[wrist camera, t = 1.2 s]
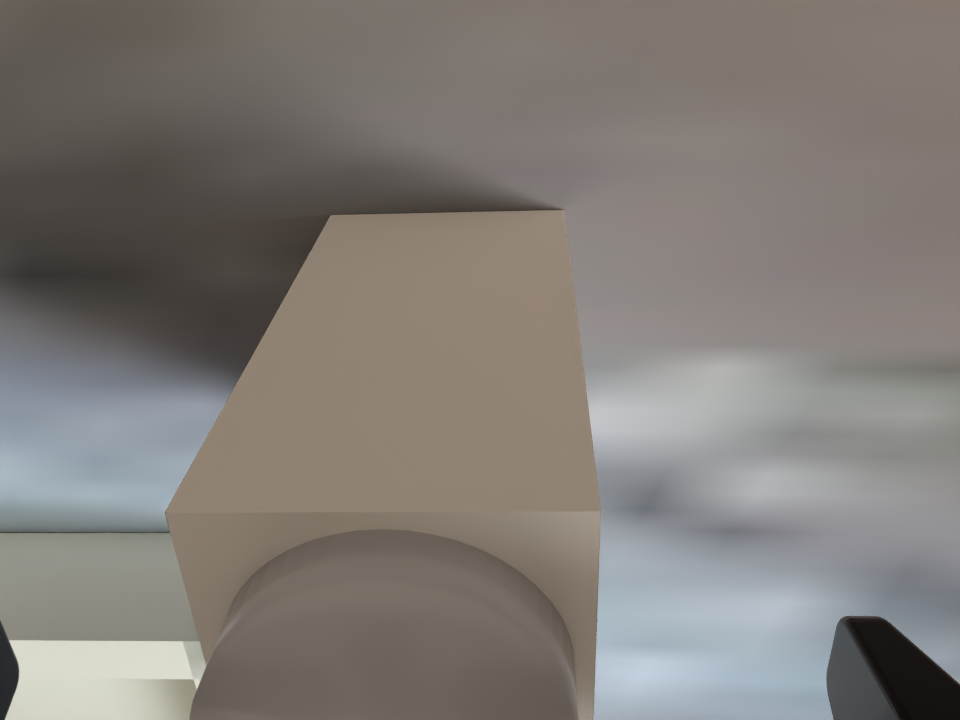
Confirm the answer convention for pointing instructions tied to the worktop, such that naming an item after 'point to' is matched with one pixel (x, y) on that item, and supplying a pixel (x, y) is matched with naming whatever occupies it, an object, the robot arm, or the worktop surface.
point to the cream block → (403, 486)
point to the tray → (98, 627)
